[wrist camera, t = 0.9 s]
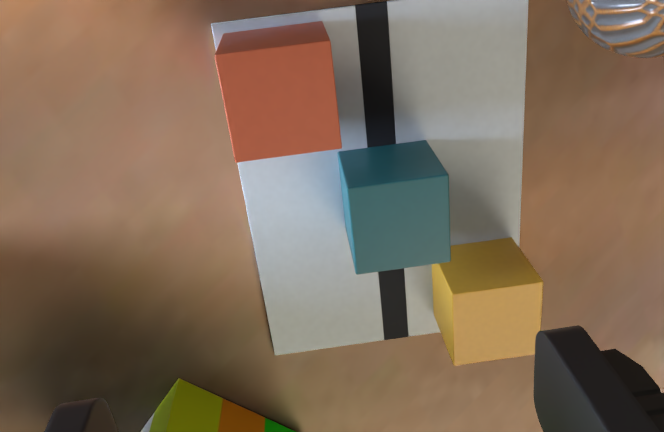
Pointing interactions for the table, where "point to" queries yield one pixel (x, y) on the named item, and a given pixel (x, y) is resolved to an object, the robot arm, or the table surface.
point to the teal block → (395, 206)
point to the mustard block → (487, 302)
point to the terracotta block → (279, 91)
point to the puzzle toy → (205, 414)
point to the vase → (622, 25)
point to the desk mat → (385, 129)
